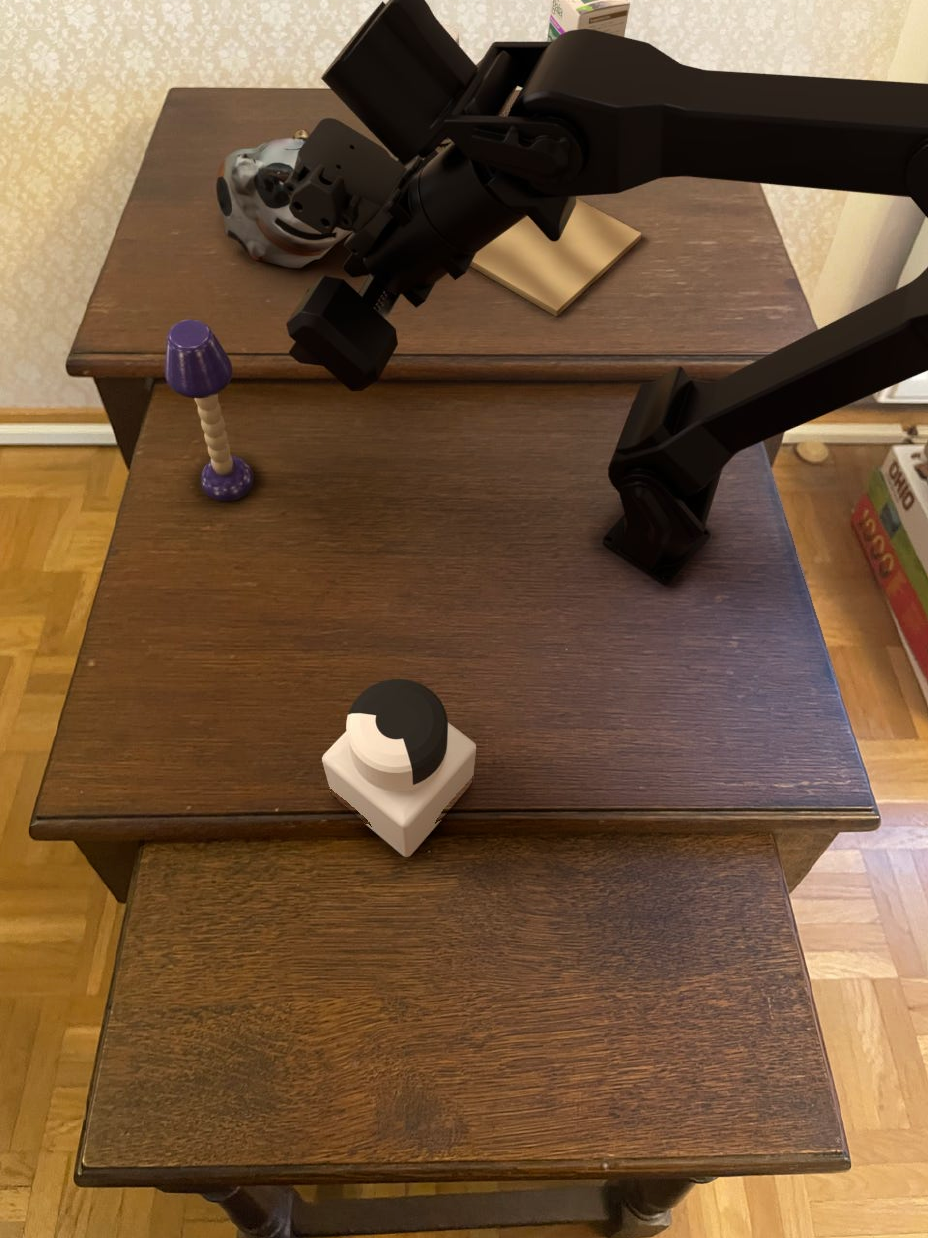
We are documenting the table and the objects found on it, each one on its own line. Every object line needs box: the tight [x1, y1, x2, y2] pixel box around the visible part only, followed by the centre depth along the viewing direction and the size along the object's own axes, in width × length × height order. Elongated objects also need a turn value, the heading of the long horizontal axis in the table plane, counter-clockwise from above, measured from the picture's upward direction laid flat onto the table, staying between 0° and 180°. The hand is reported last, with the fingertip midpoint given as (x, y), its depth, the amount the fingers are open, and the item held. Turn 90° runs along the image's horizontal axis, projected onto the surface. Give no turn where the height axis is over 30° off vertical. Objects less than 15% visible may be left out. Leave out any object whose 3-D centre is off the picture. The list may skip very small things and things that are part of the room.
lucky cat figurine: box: [215, 128, 353, 269], centre depth 89 cm, size 15×12×14 cm
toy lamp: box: [164, 318, 255, 503], centre depth 73 cm, size 5×5×17 cm
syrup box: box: [546, 0, 631, 42], centre depth 98 cm, size 6×6×14 cm
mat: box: [469, 197, 642, 317], centre depth 95 cm, size 14×14×1 cm
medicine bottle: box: [321, 678, 477, 858], centre depth 62 cm, size 7×7×12 cm
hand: (322, 312), depth 70 cm, fingers open, 9 cm apart
